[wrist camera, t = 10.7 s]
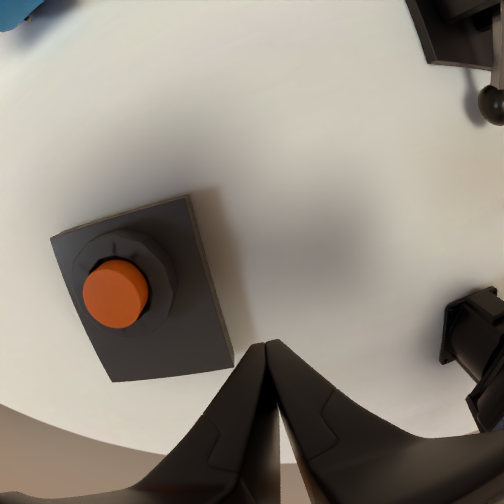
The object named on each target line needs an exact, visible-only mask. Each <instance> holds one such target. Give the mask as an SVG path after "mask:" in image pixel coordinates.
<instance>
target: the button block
mask: <svg viewBox="0 0 504 504" xmlns="http://www.w3.org/2000/svg"><path fill="white" fill-rule="evenodd" d="M50 241H51V244H52V247H53V250H54V253H55V256H56V259H57V262H58V265H59V267H60V270H61V273H62V276H63V278H64V281H65V283H66V286H67V289H68V291H69V294H70V296H71V299H72V301H73V303H74V306H75V308H76V310H77V313H78V315H79V317H80V320H81V322H82V324H83V326H84V328H85V331H86V333H87V335H88V337H89V339H90V341H91V343H92V345H93V347H94V349H95V351H96V353H97V355H98V357H99V359H100V361H101V363H102V365H103V367H104V368H105V370H106V372H107V374H108V376H109V378H110V379H111V381H112V382H125V381H137V380H147V379H157V378H165V377H174V376H181V375H189V374H196V373H203V372H209V371H215V370H221V369H227V368H233V367H234V351H233V348H232V345H231V342H230V338H229V335H228V332H227V329H226V325H225V322H224V319H223V315H222V312H221V309H220V305H219V302H218V298H217V295H216V292H215V288H214V285H213V281H212V278H211V274H210V271H209V267H208V263H207V260H206V256H205V253H204V249H203V245H202V241H201V238H200V234H199V230H198V227H197V223H196V219H195V215H194V211H193V207H192V203H191V199H190V196H189V195H185V196H181V197H177V198H173V199H170V200H166V201H162V202H159V203H155V204H151V205H148V206H144V207H141V208H137V209H134V210H130V211H127V212H124V213H120V214H117V215H114V216H110V217H107V218H104V219H101V220H98V221H94V222H91V223H88V224H85V225H82V226H79V227H76V228H73V229H70V230H67V231H64V232H61V233H59V234H57V235H55V236H53V237H51V238H50ZM113 259H119V260H124V261H127V262H129V263H131V264H133V265H134V266H136V267H137V268H138V269H139V270H140V271H141V272H142V274H143V275H144V277H145V279H146V281H147V284H148V289H149V295H148V300H147V303H146V305H145V306H144V308H143V310H142V311H141V313H140V315H139V316H138V318H137V320H136V321H135V322H134V323H133V324H131V325H130V326H127V327H124V328H111V327H108V326H106V325H103V324H102V323H100V322H99V321H97V320H96V319H95V318H94V317H93V316H92V315H91V314H90V312H89V311H88V309H87V307H86V305H85V302H84V299H83V286H84V283H85V281H86V279H87V277H88V276H89V275H90V274H91V273H92V272H94V271H95V270H96V269H97V268H98V267H99V266H101V265H102V264H103V263H105V262H106V261H109V260H113Z"/></svg>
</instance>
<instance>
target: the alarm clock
mask: <svg viewBox="0 0 504 504" xmlns="http://www.w3.org/2000/svg"><path fill="white" fill-rule="evenodd" d="M44 1H45V0H0V32H5V31H9V30H11V29H13V28H15V27H16V26H17V25H18V24H19V23H20V22H22V21H23V20H25V21H27V22H29V23H30V22H31V21H32V20H31V18H30V17H29V16H28V15H29V14H30V13H31V12H32V11H33V10H34V9H35V8H37V7H38V6H39V5H40V4H41V3H42V2H44Z"/></svg>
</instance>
